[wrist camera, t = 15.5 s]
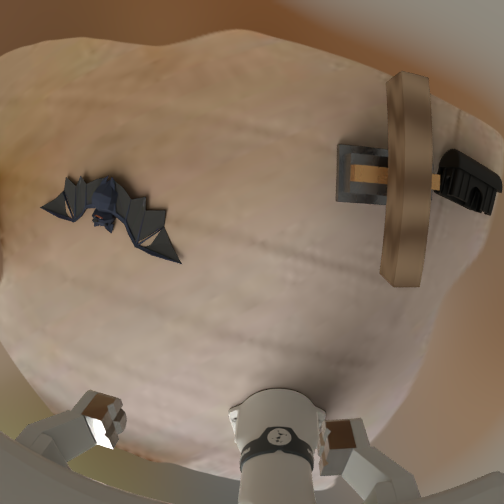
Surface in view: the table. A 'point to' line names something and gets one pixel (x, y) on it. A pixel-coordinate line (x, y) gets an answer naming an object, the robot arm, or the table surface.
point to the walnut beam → (407, 179)
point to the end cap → (468, 182)
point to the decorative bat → (115, 213)
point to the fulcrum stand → (365, 175)
